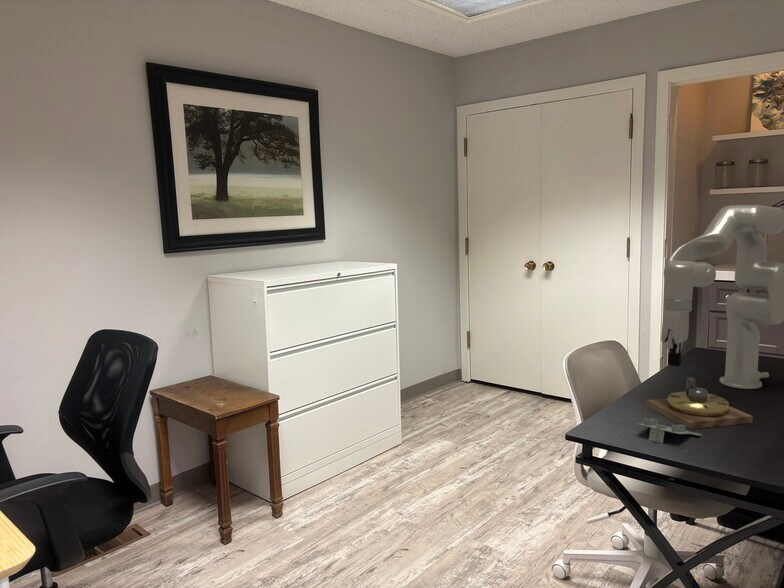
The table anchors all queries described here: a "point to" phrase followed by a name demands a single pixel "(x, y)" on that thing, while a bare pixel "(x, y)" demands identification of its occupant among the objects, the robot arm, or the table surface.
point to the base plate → (699, 421)
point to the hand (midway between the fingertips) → (674, 365)
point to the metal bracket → (663, 430)
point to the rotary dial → (697, 401)
